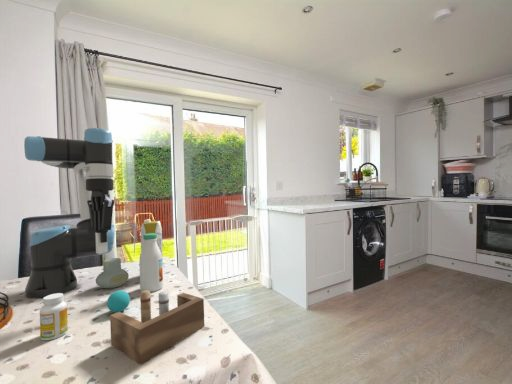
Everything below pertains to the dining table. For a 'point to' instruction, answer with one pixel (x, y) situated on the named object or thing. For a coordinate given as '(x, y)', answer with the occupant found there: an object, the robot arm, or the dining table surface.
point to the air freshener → (112, 274)
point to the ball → (118, 301)
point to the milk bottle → (151, 264)
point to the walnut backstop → (156, 329)
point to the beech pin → (145, 306)
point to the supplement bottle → (53, 317)
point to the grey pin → (163, 302)
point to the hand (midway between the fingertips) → (101, 252)
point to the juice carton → (152, 228)
